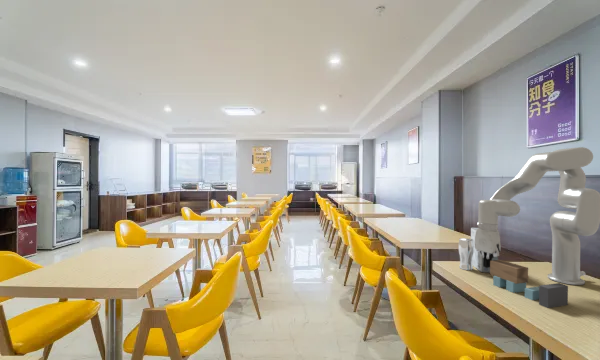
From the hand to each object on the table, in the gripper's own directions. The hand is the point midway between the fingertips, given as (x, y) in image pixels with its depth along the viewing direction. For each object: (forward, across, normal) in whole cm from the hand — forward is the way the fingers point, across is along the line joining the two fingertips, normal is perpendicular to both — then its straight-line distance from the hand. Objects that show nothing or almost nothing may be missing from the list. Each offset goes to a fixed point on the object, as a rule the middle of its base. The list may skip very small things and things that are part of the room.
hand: (487, 266), depth 135 cm
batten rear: (+6, +8, 0) cm, 10 cm away
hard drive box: (+6, -14, +13) cm, 20 cm away
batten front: (+6, +14, 0) cm, 15 cm away
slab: (+2, +10, 0) cm, 10 cm away
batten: (+6, +21, 0) cm, 22 cm away
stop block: (+6, +28, 0) cm, 28 cm away
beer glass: (+6, -16, +4) cm, 18 cm away
